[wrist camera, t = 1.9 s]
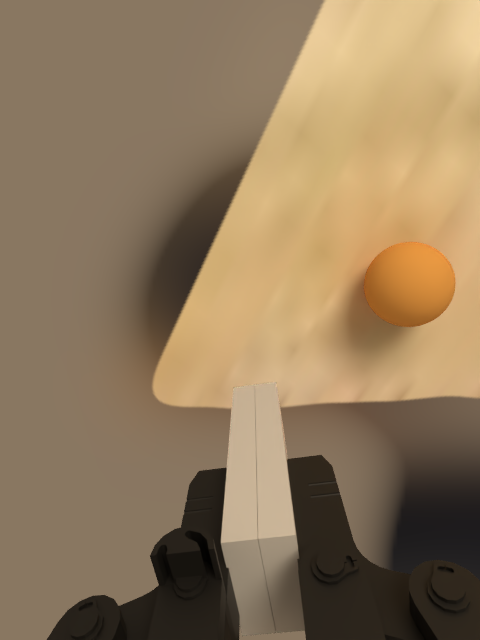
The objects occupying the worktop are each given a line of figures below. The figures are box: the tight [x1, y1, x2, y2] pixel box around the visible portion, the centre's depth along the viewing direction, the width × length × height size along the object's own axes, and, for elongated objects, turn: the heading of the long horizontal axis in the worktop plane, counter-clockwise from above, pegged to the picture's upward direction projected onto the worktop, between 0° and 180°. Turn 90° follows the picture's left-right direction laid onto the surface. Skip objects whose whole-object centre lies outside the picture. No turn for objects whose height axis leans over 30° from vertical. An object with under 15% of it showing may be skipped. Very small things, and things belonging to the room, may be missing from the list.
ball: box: [364, 242, 455, 327], centre depth 27 cm, size 6×6×6 cm
